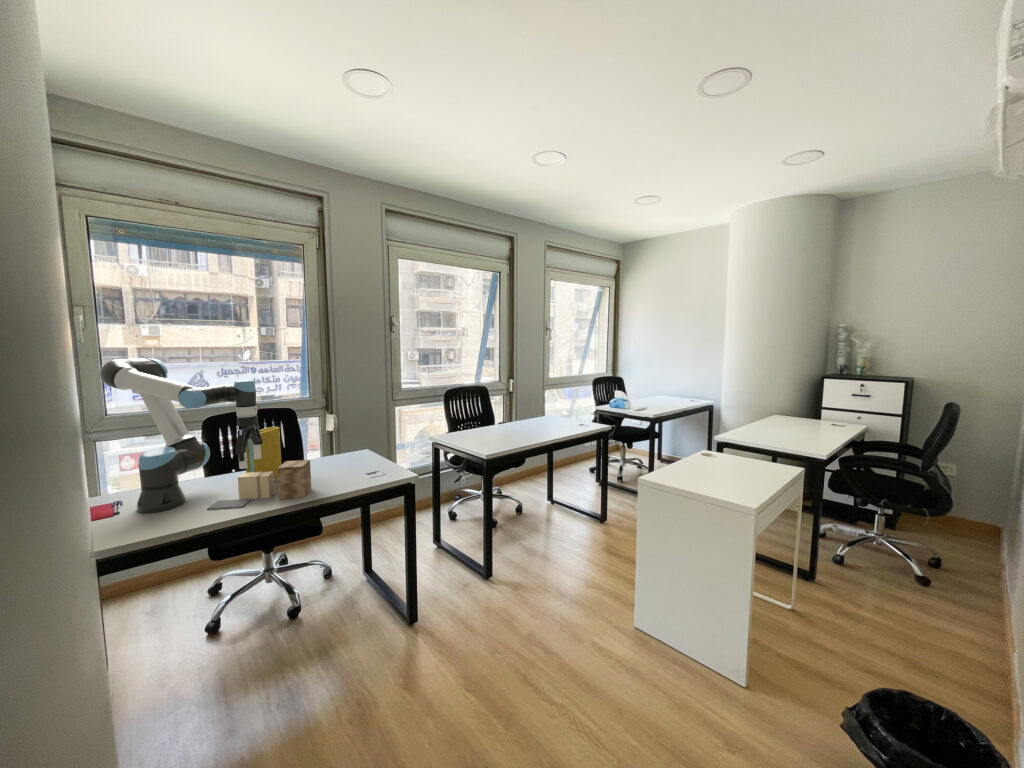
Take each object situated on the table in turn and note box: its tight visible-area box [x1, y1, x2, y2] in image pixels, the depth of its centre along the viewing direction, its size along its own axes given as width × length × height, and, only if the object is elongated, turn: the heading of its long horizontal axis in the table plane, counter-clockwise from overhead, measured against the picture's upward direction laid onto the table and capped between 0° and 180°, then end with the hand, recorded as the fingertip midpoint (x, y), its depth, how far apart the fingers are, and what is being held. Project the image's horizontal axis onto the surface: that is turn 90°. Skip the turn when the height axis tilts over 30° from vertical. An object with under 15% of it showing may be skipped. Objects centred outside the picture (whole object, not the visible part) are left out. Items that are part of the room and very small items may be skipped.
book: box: [245, 426, 282, 480], centre depth 196 cm, size 17×7×25 cm, turn 168°
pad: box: [206, 498, 252, 511], centre depth 168 cm, size 13×8×1 cm, turn 101°
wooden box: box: [277, 459, 312, 500], centre depth 180 cm, size 10×10×14 cm
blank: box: [237, 471, 276, 500], centre depth 178 cm, size 12×6×10 cm, turn 101°
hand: (250, 463), depth 176 cm, fingers open, 13 cm apart
